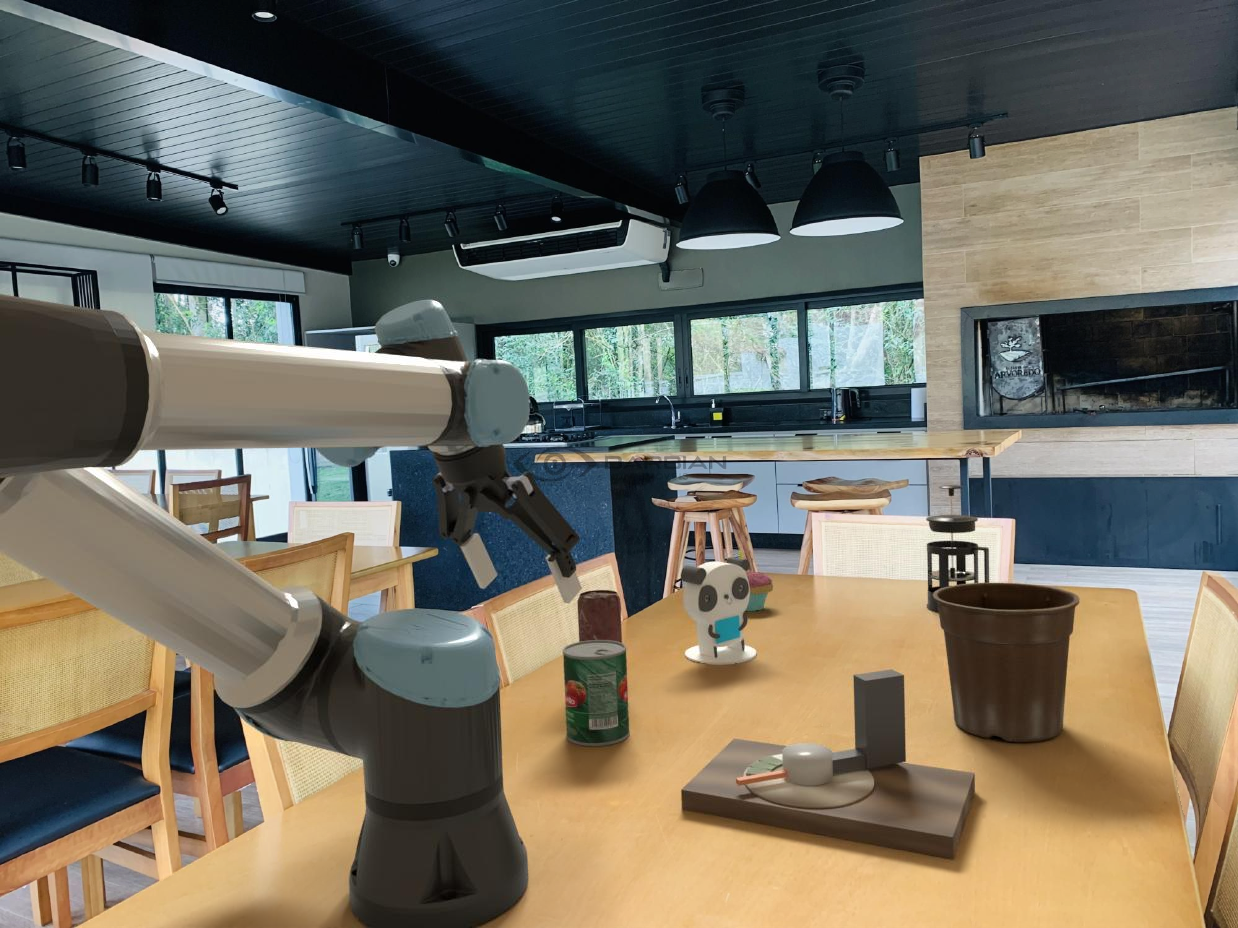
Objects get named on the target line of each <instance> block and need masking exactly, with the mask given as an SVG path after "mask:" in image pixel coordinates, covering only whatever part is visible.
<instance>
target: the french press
mask: <svg viewBox="0 0 1238 928" xmlns="http://www.w3.org/2000/svg"><path fill="white" fill-rule="evenodd" d="M938 488H939V489H940V490H941V489H942V490H948V496H949V498H950V501H949V502H950V514H940V515H934V516H933V515H932V516H931V515H930V516H928V517H926V519H925V520H926V521H927V522H928V526H929V529H930V531H932V533H934V532H935V533H942V534H950V540H937V541H935V540H934V541H930V542H927V543H926V552H927V553H926V554H927V557H926V560H927V604H926V609H927V608H928V609H927V610H929V611H931V610H932V612H934V611H936V612H935V613H939V610H938V604H937V602H936V601H935V600H934V598H933V593H934V592H935V591H937V590H938V589H941V588H945V587H949V586H950V582H954V583H955V582H956V585H961V584H967V582H969V581H973V583H979V551H983V555H984V556H983V557H984V558H983V559H984V560H983V561H984V563H983V565H984V567H983V568H984V569H983V570H984V583H990V549H989V547H986V546H985V547H984V546H979V544H978V543H976V542H972V541H967V540H954V534H963V533H973V532H976V522H978V517H977V516H976V517H975V516H970V515H964V514H963V515H962V514H954V513H953V510H954V509H953V507H954V504H953V497H954V496H955V490H958V489H963V488H964V486H963V485H959V484H945V485H941V486H939V487H938ZM933 555H938V570H934V571H933ZM970 555H973V571H968V570H967V568H966V567H967V566H966V565H967V564H966V563H967V559H966V556H970ZM949 557H950V558H951V560H950V561H951V567H949V562H950V561H949ZM954 557H956V558H955V563H956V564H955V563H954ZM954 564H955V566H954ZM955 567H956V568H955ZM933 580H935V581H938V583H939V585H938V586H933Z"/></svg>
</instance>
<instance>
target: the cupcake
mask: <svg viewBox="0 0 1238 928" xmlns="http://www.w3.org/2000/svg"><path fill="white" fill-rule="evenodd" d="M737 548H738V556H739V558H741V559H744V554H743V550H742V549H741V547H740V546H737ZM745 572H746V575H747V577H748V581H749V586H750V598H749V602H748V605H747V608H746V610H745V611H744V612H756V610H758V611H761V610H763V609H764V608H765V607H764V606H765V603H766V599H767V596H768V594H769V593H771V592H772V591H773V590H774V589H773V588H774V584H773V582H772V581H773V580H772V579H771V577H769V576H768V575H766V574H764V573H762V572H759V571H757V572H756V571H745Z"/></svg>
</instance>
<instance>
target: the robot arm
mask: <svg viewBox="0 0 1238 928" xmlns="http://www.w3.org/2000/svg"><path fill="white" fill-rule="evenodd" d="M374 332H375V335H376V337H377V343H378V344H379V345H380V348H379V349H377V350H376V351H374V352H365V351H355V350H345V349H336V348H335V349H333V348H326V347H325V348H324V347H315V346H314V347H313V346H303V345H294V344H293V345H292V344H284V343H283V344H282V343H274V342H273V343H271V342H262V341H252V340H251V341H250V340H243V339H232V338H231V339H230V338H219V337H211V336H199V335H189V334H188V335H187V334H181V333H180V334H179V333H168V332H157V331H147V330H141V329H140V328H139V326H138V325H137V324H136V323H135V322H134V321H133V319H131V317H129V316H128V315H126V314H124V312H123V313H122V312H120V311H119V312H118V311H115V310H106V309H99V308H98V309H97V308H89V307H83V306H74V305H70V304H69V305H68V304H64V303H57V302H53V301H52V302H50V301H43V300H39V299H32V298H26V297H20V296H14V295H10V294H9V295H8V294H3V293H0V554H2V555H4V556H6V557H8V558H9V559H11V560H13V561H15V562H16V563H18V564H19V565H22V566H23V567H25V568H27V569H28V570H30V571H32V572H34V573H35V574H37V575H39V576H41V577H43V578H44V579H46V580H47V581H49V582H51V583H53V584H55V585H56V586H58V587H60V588H62V589H63V590H65V591H67V592H69V593H70V594H73V595H74V596H75V597H77V598H79V599H80V600H83V601H84V602H86V603H88V604H90V605H91V606H94V607H95V608H97V609H99V610H101V611H102V612H104V613H105V614H107V615H109V616H110V617H112V618H114V619H116V620H118V621H119V622H121V623H123V624H125V625H126V626H129V627H130V628H132V629H134V630H135V631H137V632H139V633H141V634H142V635H144V636H146V637H148V638H149V639H151V640H152V641H155V642H156V643H158V644H159V645H162V646H163V647H165V648H167V649H169V650H170V651H173V652H174V653H175V654H177V655H179V656H181V657H182V658H185V660H188V661H190V662H191V663H193V664H195V665H197V666H199V667H200V668H202V669H203V670H205V671H207V672H209V673H210V674H212V675H213V683H214V685H213V686H214V689H215V692H216V694H217V695H218V697H219V698H220V699H221V701H222V702H224V703H225V704H226V705H228V706H230V707H232V708H233V709H234V711H235V712H236V713H237V715H238V716H239V717H240V718H241V719H242V720H243V721H244V722H245V723H246V724H247V725H249V726H251V727H252V728H254V730H257V731H258V732H260V733H261V734H263V735H265V736H267V737H270V738H272V739H276V740H279V741H284V742H292V743H298V744H302V745H305V746H310V747H314V748H318V749H321V750H326V751H331V752H334V753H338V754H342V755H345V756H349V757H350V758H351V757H352V758H355V759H356V758H357V759H360V760H361V761H362V767H363V768H362V769H363V783H364V785H363V786H364V794H365V814H364V817H363V821H362V825H361V829H360V833H359V836H358V841H357V844H356V849H355V854H354V860H353V862H352V864H351V866H350V870H349V875H348V888H349V903H350V909H351V912H352V913H353V915H354V916H355V917H356V919H357V920H358V922H360V923H362V924H363V925H364V926H366V927H368V928H473V927H476V926H478V925H481V924H483V923H485V922H488V921H490V920H492V919H495V918H496V917H498V916H500V915H502V914H503V913H504V912H505V911H507V910H508V909H510V908H512V906H514V904H516V902H518V901H519V900H520V899H521V897H522V896H523V894H524V893H525V891H526V889H527V887H528V883H529V864H528V863H529V861H528V853H527V847H526V845H525V843H524V841H523V839H522V837H521V836H520V834H519V831H518V828H517V825H516V821H515V818H514V816H513V813H512V811H511V808H510V804H509V802H508V800H507V796H506V794H505V791H504V790H505V789H504V787H505V786H504V773H503V771H504V770H503V747H502V746H503V744H502V718H501V716H502V715H501V691H500V690H501V689H500V687H501V685H500V684H501V683H500V682H501V676H500V668H499V667H500V666H499V665H498V662H497V661H498V659H497V652H496V644H495V641H494V637H493V635H492V633H491V631H490V630H489V629H488V628H487V627H486V625H484V623H482V622H481V621H480V620H477V619H476V618H473V617H471V616H468V615H466V614H463V613H458V612H456V611H450V610H443V609H436V608H435V609H434V608H433V609H432V608H431V609H429V610H427V609H426V610H424V609H421V608H404V609H398V610H397V609H396V610H391V611H390V610H389V611H385V612H381V613H378V614H375V615H372V616H370V617H369V618H367V619H366V620H364V621H359V620H357V619H356V620H355V619H353V618H350V617H348V616H347V615H345V614H344V613H343V612H341V611H339V610H338V609H336V608H335V607H334V606H333V605H331V604H330V603H329V602H327V601H325V600H324V599H322V598H321V597H320V596H319V595H317V594H316V593H314V592H313V591H311V590H309V589H308V588H306V587H304V586H299V585H289V586H285V587H281V588H277V587H275V586H274V585H272V584H271V583H269V582H268V581H267V580H266V579H264V578H262V577H261V576H259V575H258V574H256V573H255V572H254V571H252V570H250V569H249V568H248V567H246V566H245V565H244V564H242V563H241V562H239V561H238V560H236V559H235V558H233V557H232V556H231V555H230V554H228V553H226V551H223V550H222V549H220V548H219V547H218V546H217V545H215V544H214V543H212V542H211V541H209V540H208V539H206V538H205V537H204V536H202V535H201V534H200V533H198V532H196V531H195V530H193V529H192V528H191V527H189V526H187V525H186V524H185V523H184V522H182V521H180V520H179V519H178V518H176V517H175V516H173V515H172V514H171V513H169V512H168V511H166V510H165V509H163V507H160V506H159V505H158V504H156V503H155V502H153V501H152V500H151V499H149V498H148V497H146V496H145V495H143V494H142V493H140V492H139V491H138V490H136V489H135V488H134V487H132V486H131V485H129V484H128V483H126V482H125V481H124V480H122V479H121V478H119V477H117V475H115V474H114V473H112V472H111V471H109V470H107V469H106V468H114V467H115V468H116V467H119V466H123V465H124V464H126V463H127V464H128V462H130V460H132V459H134V457H135V456H136V455H137V453H138V452H139V451H169V450H171V451H173V450H177V451H178V450H179V451H180V450H181V451H182V450H185V451H186V450H233V449H235V450H237V449H238V450H239V449H242V450H243V449H247V450H248V449H293V448H295V449H296V448H298V449H300V448H302V449H303V448H305V449H306V448H310V449H312V448H315V450H316V451H317V452H318V453H319V454H320V455H321V456H322V457H324V458H325V459H326V460H328V461H329V462H330V463H332V464H334V465H336V466H340V467H343V468H353V467H356V466H359V465H360V464H361V463H363V462H365V461H366V460H367V459H371V458H372V457H373V456H375V455H376V452H377V451H378V450H380V449H382V448H385V447H387V448H389V447H399V448H400V447H427V448H428V449H429V450H430V451H432V453H433V454H432V458H433V459H434V461H435V464H436V466H437V468H438V469H439V473H437V474H436V475H435V476H434V477H433V478H432V479H431V480H432V484H433V487H434V489H435V491H436V497H437V498H436V499H437V513H438V514H437V517H438V530H439V533H438V534H439V536H440V537H441V538H442V539H444V540H447V539H448V538H450V539H451V540H452V542H453V543H454V544H455V545H458V548H459V550H460V552H461V554H462V556H463V559H464V560H465V561H466V562H467V563H468V566H469V568H470V569H471V572H472V574H473V576H474V578H475V580H476V583H477V585H478V587H479V589H483V590H485V589H486V588H487V587H488V586H489V585H490V584H491V583H492V582H493V581H494V580H495V579H496V578H497V576H498V573H497V570H496V569H495V567H494V564H493V562H492V560H491V558H490V556H489V553H488V551H487V549H486V546H485V545H484V543H483V541H482V538H481V536H480V533H477V532H476V533H475V532H474V531H475V530H476V528H477V527H475V524H476V521H477V517H478V514H479V512H482V513H484V512H490V513H492V514H498V515H499V516H501V518H503V519H504V520H510V521H511V522H512V523H513V524H515V525H516V526H517V527H518V528H519V529H521V531H522V532H523V533H525V534H526V536H528V537H529V538H531V540H533V541H534V542H535V543H536V544H537V545H538V546H539V547H540V548H542V549H543V551H544V552H546V553H547V556H546V557H545V560H546V562H547V566H548V567H549V570H550V572H551V575H552V578H553V579H554V582H555V584H556V586H557V588H558V591H559V593H560V597H561V598H562V601H563V603H564V604H571V602H572V601H573V600H574V599H575V597H576V596H577V595H578V594H579V592H581V590H582V589H583V587H582V585H581V581H580V580H579V578H578V575H577V573H576V571H577V565H576V563H575V559H574V558H573V556H572V553H571V551H572V550H573V548H575V547H576V545H577V544H578V543H579V542H580V540H581V538H580V536H579V534H578V533H577V532H576V531H575V530H574V529H573V527H572V526H571V525H570V524H569V523H568V521H567V520H566V519H565V517H564V516H563V515H562V514H561V513H560V512H559V510H558V509H557V508H556V507H555V506H554V504H553V503H552V502H551V500H549V499H548V497H547V496H546V494H544V492H543V491H542V490H541V489H540V487H539V486H538V484H537V482H536V480H535V478H534V476H533V474H532V473H531V472H530V471H524V472H523V473H521V475H520V476H512V475H511V473H510V472H509V471H508V470H507V467H506V461H507V460H506V458H507V452H506V449H505V446H504V445H505V444H510V443H511V442H514V441H515V440H517V439H518V437H520V436H521V434H522V433H523V431H524V430H525V428H526V427H527V424H528V421H529V416H530V412H531V408H530V397H531V395H530V391H529V387H528V383H527V381H526V379H525V377H524V375H523V373H522V372H521V371H520V370H519V369H518V368H517V367H516V366H515V365H514V364H512V363H511V362H509V361H506V360H501V359H485V358H477V359H476V358H475V360H468V358H467V356H466V353H465V350H464V348H463V346H462V343H461V341H460V338H459V333H458V331H457V330H456V328H455V327H454V325H453V323H452V320H451V319H450V316H449V315H448V314H447V312H446V309H445V308H444V306H443V305H442V304H441V303H440V302H438V301H436V300H433V299H423V300H422V299H421V300H417V301H413V302H410V303H406V304H404V305H401V306H398V307H395V308H394V309H392V310H390V311H388V312H386V313H385V314H383V315H382V316H381V317H380V318H379V320H378V321H377V322H376V324H375V325H374ZM459 494H460V496H459ZM459 497H460V498H459ZM459 499H460V500H459ZM512 499H514V500H515V502H513V503H512V504H511V505H510V506H509V504H510V503H511V501H512ZM472 533H473V534H472ZM471 534H472V535H471Z"/></svg>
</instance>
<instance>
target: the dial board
mask: <svg viewBox="0 0 1238 928" xmlns="http://www.w3.org/2000/svg"><path fill="white" fill-rule="evenodd" d="M787 746H788V745H783V744H775V743H769V742H763V741H762V742H761V741H755V740H747V739H739V738H733V739H731V741H729V743H727V745H726V746H724V747H723V748H722V749H721V750H720V752H718V754H716V755H715V756H714V757H713V758H712V759H711V760H710V761H709V762H708V763H707V764H706V765H705V766H704V767H703V768H702V769H701V770H700V771H699V772H698V773H697V774H696V775H695V776H693V778H691V779H690V780H689V782H688V783H685V785H684V787H682V788H681V789H680V794H681V795H680V797H681V798H680V799H681V810H686V811H690V812H691V811H692V812H696V813H697V812H698V813H703V814H708V815H713V816H719V817H723V818H724V817H725V818H729V819H734V820H741V821H746V822H752V823H755V824H762V825H765V826H766V825H767V826H773V827H777V828H783V829H789V830H792V831H798V832H799V831H800V832H802V833H803V832H804V833H809V834H815V835H820V836H825V837H830V838H831V837H832V838H835V839H836V838H837V839H841V840H847V841H853V842H858V843H864V844H868V845H869V844H870V845H872V846H873V845H874V846H880V847H886V848H890V849H896V850H902V851H906V852H910V853H911V852H912V853H917V854H922V855H928V856H933V857H937V858H938V857H939V858H942V859H943V858H944V859H949V860H954V859H955V854H956V851H957V848H958V847H959V846H958V845H959V842H960V839H961V836H962V833H963V831H964V827H965V825H966V820H967V817H968V815H969V811H970V809H971V805H972V803H973V799H974V797H975V794H976V785H975V781H976V780H975V779H976V777H975V776H976V773H975V772H971V771H964V770H959V769H951V768H943V767H936V766H930V765H929V766H927V765H923V764H922V765H921V764H915V763H909V762H902V763H896V764H890V765H885V766H879V767H874V768H868V769H867V768H863V769H857V770H852V771H846V772H841V773H835V774H833V778H832V780H831V781H829V782H828V783H825V784H821V785H811V786H810V785H799V784H795V783H792V782H790V781H788V780H786V779H785V778H779V779H774V780H768V781H762V782H757V783H751V784H745V785H740V786H739V785H738V784H737V783H736V778H739V777H745V776H751V775H756V774H762V773H768V772H773V771H779V770H783V760H782V750H783V749H784V748H785V747H787ZM832 753H833V751H832Z"/></svg>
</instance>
